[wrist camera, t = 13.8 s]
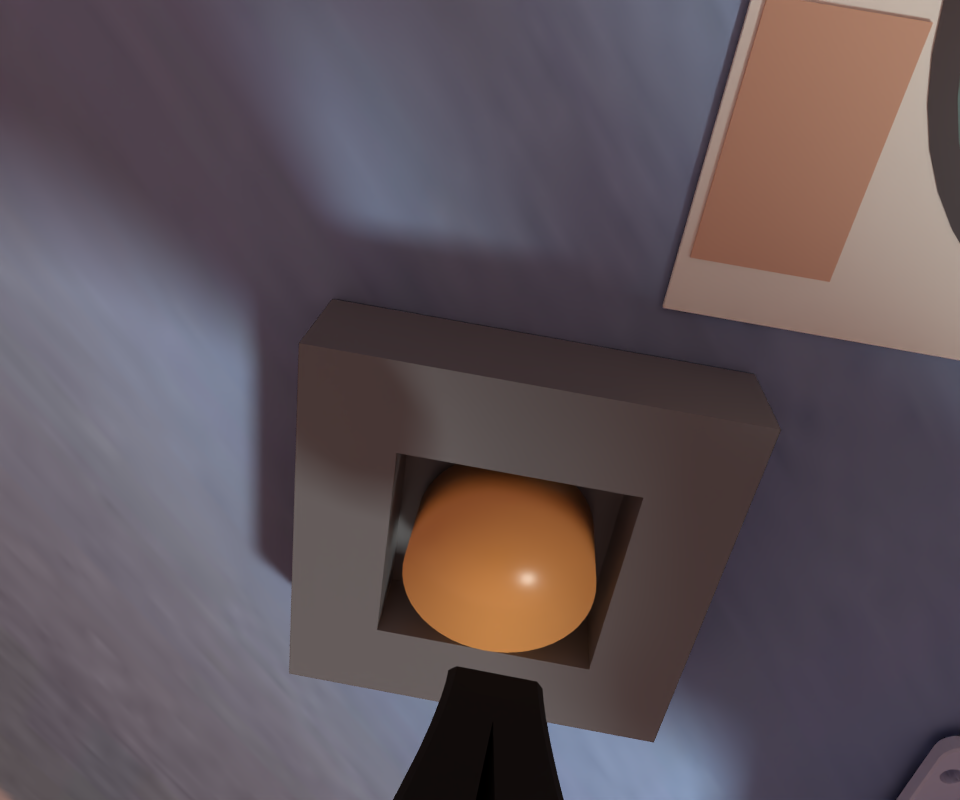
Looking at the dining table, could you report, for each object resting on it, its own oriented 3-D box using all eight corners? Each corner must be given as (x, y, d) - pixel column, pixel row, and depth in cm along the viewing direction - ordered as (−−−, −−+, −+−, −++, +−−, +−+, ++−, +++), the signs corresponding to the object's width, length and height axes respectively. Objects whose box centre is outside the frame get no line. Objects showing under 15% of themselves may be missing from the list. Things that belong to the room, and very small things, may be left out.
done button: (573, 608, 16) (574, 666, 15) (409, 578, 16) (393, 633, 15) (612, 473, 14) (616, 524, 13) (428, 439, 14) (412, 487, 13)
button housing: (645, 668, 18) (653, 742, 16) (316, 606, 18) (289, 673, 16) (754, 374, 14) (780, 430, 12) (331, 298, 14) (298, 342, 12)
